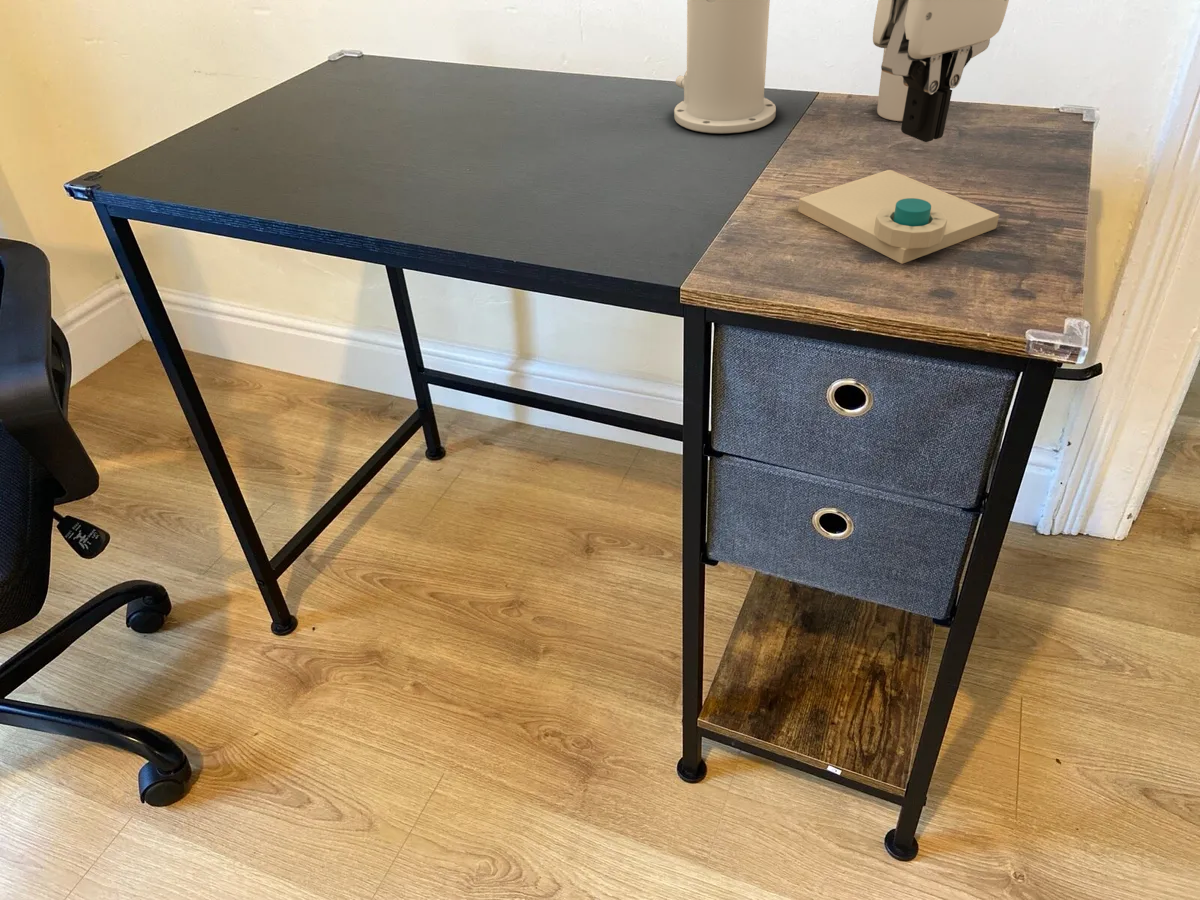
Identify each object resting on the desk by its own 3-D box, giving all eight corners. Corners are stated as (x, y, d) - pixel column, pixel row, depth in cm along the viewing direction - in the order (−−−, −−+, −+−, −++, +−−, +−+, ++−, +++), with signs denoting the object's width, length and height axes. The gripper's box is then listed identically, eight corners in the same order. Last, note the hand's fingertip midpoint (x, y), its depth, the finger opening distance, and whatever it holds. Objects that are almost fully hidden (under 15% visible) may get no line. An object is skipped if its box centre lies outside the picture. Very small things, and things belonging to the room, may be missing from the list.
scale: (794, 212, 87) (797, 183, 85) (887, 182, 92) (891, 154, 90) (906, 269, 77) (912, 237, 75) (1004, 232, 81) (1012, 201, 80)
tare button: (886, 219, 79) (888, 203, 78) (910, 211, 80) (913, 195, 79) (910, 231, 77) (913, 214, 76) (935, 222, 78) (938, 206, 77)
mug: (923, 125, 104) (942, 15, 96) (867, 118, 107) (881, 11, 99) (944, 100, 110) (964, -5, 103) (891, 94, 113) (906, -9, 106)
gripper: (1000, -138, 68) (950, 104, 79) (853, -113, 62) (823, 142, 74) (1085, -129, 62) (1018, 128, 74) (933, -100, 57) (887, 171, 69)
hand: (921, 135), depth 74 cm, fingers closed
